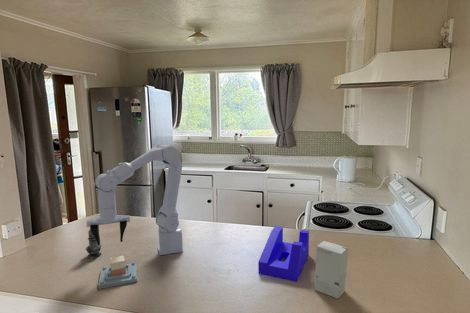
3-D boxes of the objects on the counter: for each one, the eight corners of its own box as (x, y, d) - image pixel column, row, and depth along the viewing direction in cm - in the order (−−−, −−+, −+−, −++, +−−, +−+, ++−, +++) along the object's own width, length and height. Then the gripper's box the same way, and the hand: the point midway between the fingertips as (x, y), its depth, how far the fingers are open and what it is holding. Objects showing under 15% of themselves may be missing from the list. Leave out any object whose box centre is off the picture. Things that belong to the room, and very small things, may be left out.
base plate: (136, 265, 115) (136, 260, 115) (137, 281, 104) (136, 276, 104) (101, 271, 111) (101, 266, 111) (98, 288, 100) (98, 283, 100)
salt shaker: (96, 259, 121) (93, 230, 119) (83, 258, 122) (80, 229, 120) (105, 252, 126) (103, 224, 125) (92, 251, 128) (90, 224, 126)
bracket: (275, 250, 127) (275, 226, 126) (308, 256, 122) (308, 230, 120) (258, 274, 108) (258, 246, 107) (297, 282, 102) (297, 253, 101)
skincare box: (313, 290, 98) (314, 245, 95) (321, 282, 102) (322, 239, 100) (339, 300, 92) (341, 253, 90) (346, 291, 97) (348, 246, 95)
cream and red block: (124, 268, 111) (123, 255, 110) (126, 274, 107) (125, 260, 106) (110, 271, 109) (109, 258, 108) (112, 277, 105) (111, 263, 104)
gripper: (128, 201, 117) (130, 235, 119) (86, 206, 112) (89, 241, 114) (128, 206, 110) (131, 242, 112) (84, 211, 105) (87, 249, 107)
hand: (110, 242), depth 113 cm, fingers open, 7 cm apart
